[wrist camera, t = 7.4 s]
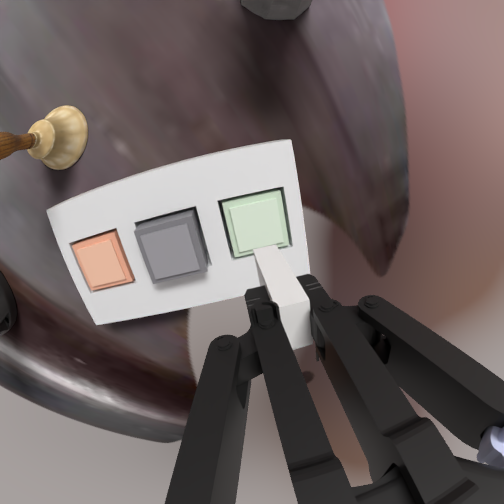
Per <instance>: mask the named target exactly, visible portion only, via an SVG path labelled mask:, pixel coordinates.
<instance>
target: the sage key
mask: <svg viewBox="0 0 504 504" xmlns="http://www.w3.org/2000/svg"><path fill="white" fill-rule="evenodd" d="M222 205H223V210H224V214H225V218H226V222H227V227H228V231H229V235H230V239H231V243H232V247H233V251H234V256H235V257H239V256H243V255H248V254H252V253H253V249H257V248H262V247H266V246H270V245H275V244H276V245H277V247H282V246H286V245H289V240H288V233H287V227H286V221H285V215H284V208H283V202H282V196H281V191H280V190H279V189H277V188H273V189H268V190H263V191H258V192H254V193H249V194H244V195H240V196H236V197H231V198H227V199H222Z"/></svg>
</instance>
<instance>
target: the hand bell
mask: <svg viewBox="0 0 504 504" xmlns="http://www.w3.org/2000/svg"><path fill="white" fill-rule="evenodd" d="M87 138H88V126H87V122H86V119H85V117H84V115H83V114H82V113H81V112H80V110H78V109H77V108H75V107H73V106H61V107H58V108H56V109H54V110H53V111H51V112H50V113H49V114H48V115H47V116H46V117H45V119H44V120H39V121H37V122H36V123H35V124H34V125H33V126H32V127H31V128H30V130H29V132H28V134H23V135H14V134H12V133H9V132H0V160H1V159H4V158H6V157H8V156H9V155H11V154H12V153H13V152H15V151H17V150H25V149H27V150H28V152H29V154H30V155H31V156H32V157H33V158H35V159H41V160H42V162H43V163H44V164H45V165H46V166H48V167H49V168H51V169H55V170H62V169H66V168H68V167H70V166H72V165H73V164H74V163H75V162H76V161H77V160H78V159H79V158H80V156H81V155H82V153H83V151H84V149H85V147H86V143H87Z"/></svg>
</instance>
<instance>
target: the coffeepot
mask: <svg viewBox="0 0 504 504" xmlns="http://www.w3.org/2000/svg"><path fill="white" fill-rule="evenodd" d="M311 2H312V0H241V5H242V6H244V7H245V8H247V9H248V10H250V11H251V12H253V13H254V14H256V15H258V16H261V17H262V18H264V19H270V20H287V19H293V20H294V19H295V18H297V17H298V16H299V15H300V14H301V13H302V12H303V11H305V10H306V9H307V8H308V7H309V6H310V5H311Z"/></svg>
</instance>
